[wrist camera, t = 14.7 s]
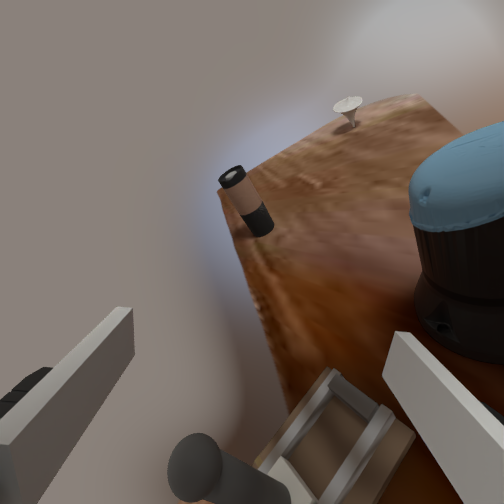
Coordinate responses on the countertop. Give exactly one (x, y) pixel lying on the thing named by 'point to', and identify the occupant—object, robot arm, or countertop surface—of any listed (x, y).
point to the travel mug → (246, 200)
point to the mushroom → (348, 107)
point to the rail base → (340, 443)
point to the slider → (230, 477)
